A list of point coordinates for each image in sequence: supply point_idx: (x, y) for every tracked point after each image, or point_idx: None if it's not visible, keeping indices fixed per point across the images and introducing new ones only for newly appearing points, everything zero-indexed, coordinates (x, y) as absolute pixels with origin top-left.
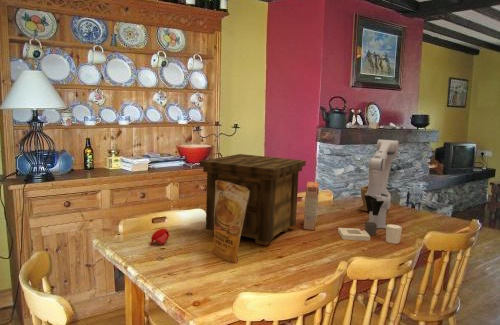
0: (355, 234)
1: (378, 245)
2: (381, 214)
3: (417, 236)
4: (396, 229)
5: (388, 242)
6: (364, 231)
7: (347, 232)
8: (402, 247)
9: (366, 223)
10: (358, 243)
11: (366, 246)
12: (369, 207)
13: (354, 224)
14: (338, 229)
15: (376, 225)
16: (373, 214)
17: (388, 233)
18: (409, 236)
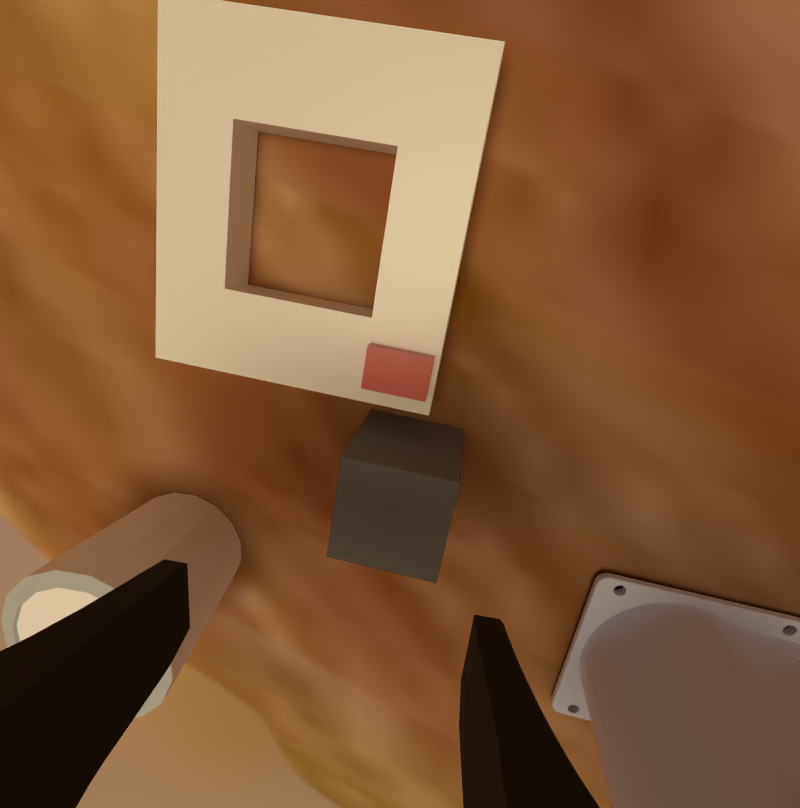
0: (203, 200)
1: (68, 367)
2: (617, 804)
3: (328, 786)
4: (10, 621)
5: (158, 496)
6: (327, 373)
7: (278, 115)
8: (57, 540)
9: (421, 469)
10: (90, 180)
11: (18, 231)
12: (475, 708)
13: (790, 446)
14: (473, 44)
15: (330, 549)
16: (149, 569)
17: (96, 536)
18: (327, 736)
